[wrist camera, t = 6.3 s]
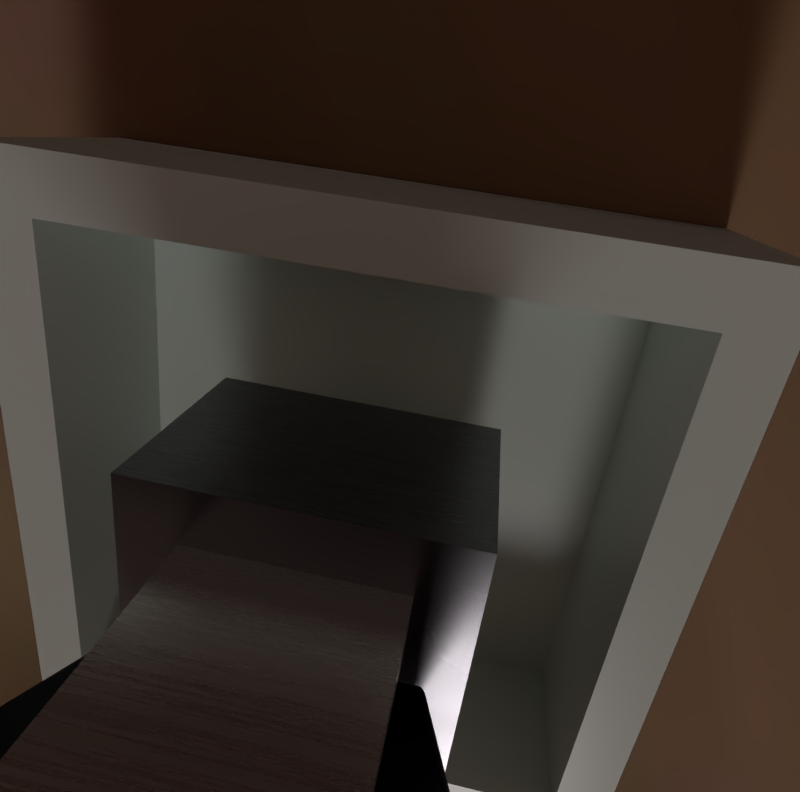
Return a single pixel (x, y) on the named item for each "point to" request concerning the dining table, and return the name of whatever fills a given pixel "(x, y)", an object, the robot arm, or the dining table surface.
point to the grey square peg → (276, 599)
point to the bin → (404, 395)
